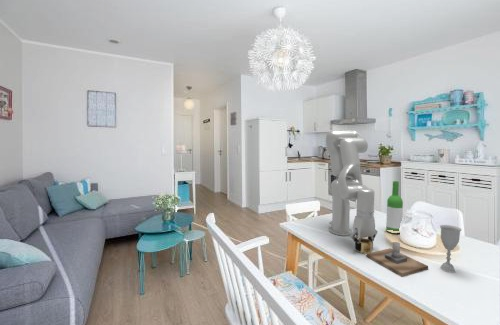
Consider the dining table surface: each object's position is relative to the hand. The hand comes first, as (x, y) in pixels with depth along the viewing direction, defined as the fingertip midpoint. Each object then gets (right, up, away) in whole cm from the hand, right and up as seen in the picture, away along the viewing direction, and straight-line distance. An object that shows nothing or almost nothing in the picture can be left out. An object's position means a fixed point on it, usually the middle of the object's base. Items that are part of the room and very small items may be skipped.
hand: (363, 248), depth 120 cm
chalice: (+27, -3, -18) cm, 32 cm away
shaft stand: (+9, -2, -12) cm, 15 cm away
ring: (0, -1, 0) cm, 1 cm away
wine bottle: (+28, +1, +23) cm, 36 cm away
